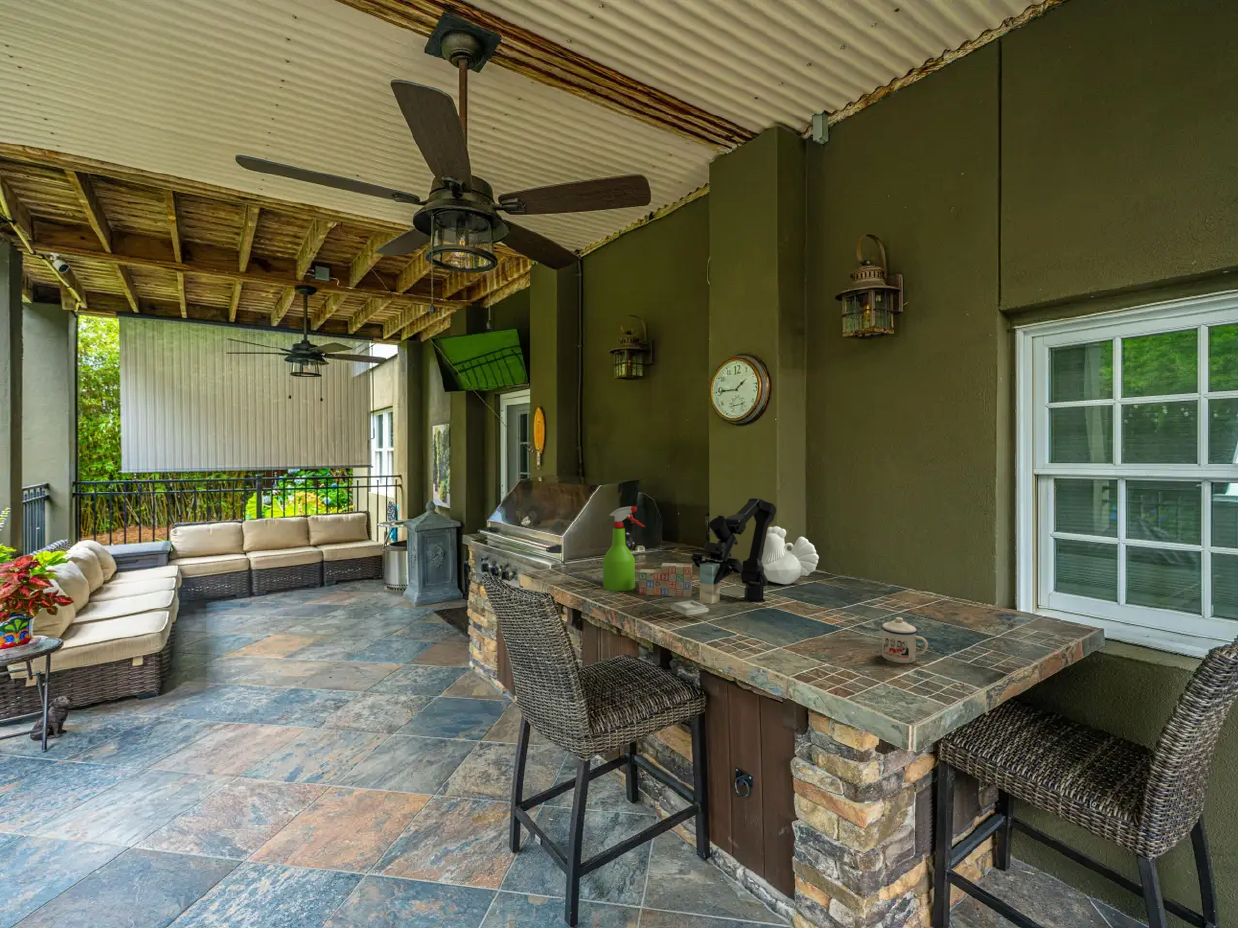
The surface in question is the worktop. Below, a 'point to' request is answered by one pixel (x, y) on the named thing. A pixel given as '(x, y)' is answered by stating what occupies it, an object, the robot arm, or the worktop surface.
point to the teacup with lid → (900, 641)
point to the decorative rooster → (787, 557)
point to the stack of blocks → (667, 580)
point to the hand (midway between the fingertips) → (707, 582)
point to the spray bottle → (620, 555)
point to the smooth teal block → (709, 583)
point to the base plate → (689, 607)
